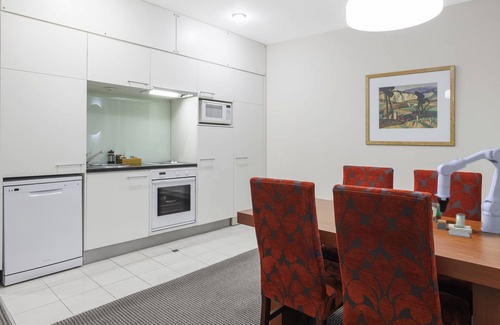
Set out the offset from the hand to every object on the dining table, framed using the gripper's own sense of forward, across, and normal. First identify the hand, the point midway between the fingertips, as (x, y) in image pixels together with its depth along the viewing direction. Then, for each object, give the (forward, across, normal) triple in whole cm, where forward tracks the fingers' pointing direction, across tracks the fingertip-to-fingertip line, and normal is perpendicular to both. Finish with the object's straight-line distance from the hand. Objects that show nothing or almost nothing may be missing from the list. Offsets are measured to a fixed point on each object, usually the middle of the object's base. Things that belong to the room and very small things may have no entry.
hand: (442, 211), depth 175 cm
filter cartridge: (+9, -3, +8) cm, 13 cm away
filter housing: (+9, -3, +6) cm, 11 cm away
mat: (+9, +8, +8) cm, 14 cm away
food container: (+10, -20, -2) cm, 22 cm away
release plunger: (+9, 0, 0) cm, 9 cm away
